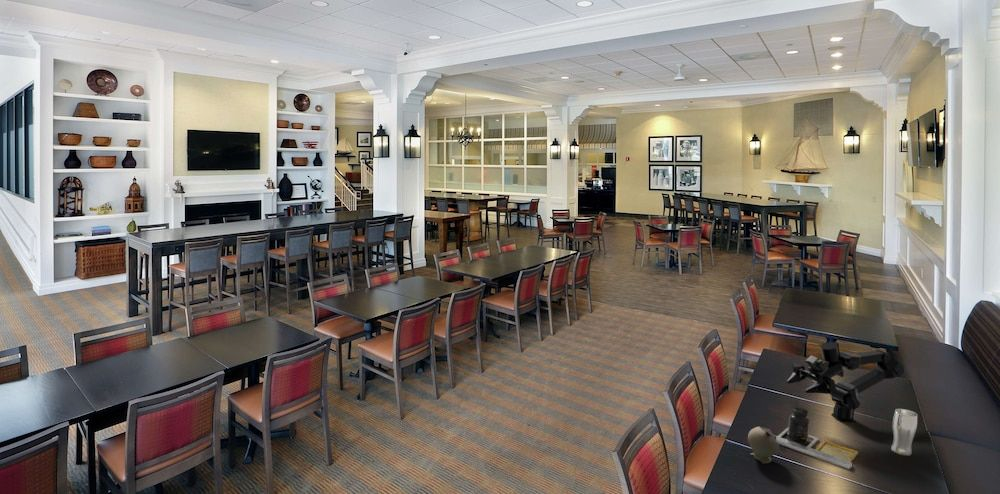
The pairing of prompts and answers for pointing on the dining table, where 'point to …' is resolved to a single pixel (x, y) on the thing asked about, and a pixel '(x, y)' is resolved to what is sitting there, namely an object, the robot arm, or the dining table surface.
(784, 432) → the tray
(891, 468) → the dining table surface
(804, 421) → the supplement bottle
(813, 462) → the dining table surface
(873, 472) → the dining table surface
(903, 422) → the beer glass
